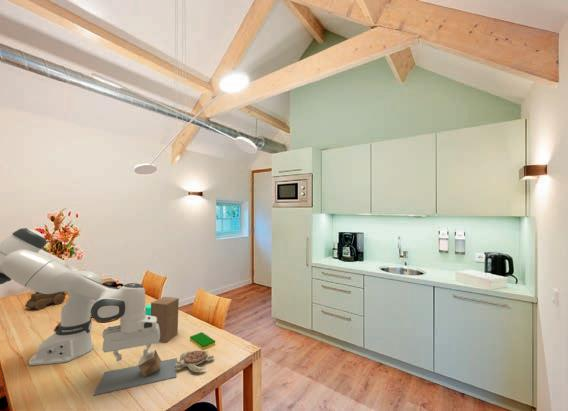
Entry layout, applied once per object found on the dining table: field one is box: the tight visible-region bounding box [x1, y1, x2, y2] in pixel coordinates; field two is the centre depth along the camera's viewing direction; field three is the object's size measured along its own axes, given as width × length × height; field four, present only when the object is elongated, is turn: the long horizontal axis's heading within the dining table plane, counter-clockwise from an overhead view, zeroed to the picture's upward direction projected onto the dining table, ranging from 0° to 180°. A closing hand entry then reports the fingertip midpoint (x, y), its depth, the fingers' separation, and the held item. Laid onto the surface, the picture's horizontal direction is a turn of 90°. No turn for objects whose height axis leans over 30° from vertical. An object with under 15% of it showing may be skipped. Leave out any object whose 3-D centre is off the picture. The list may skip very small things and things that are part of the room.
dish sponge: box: [189, 332, 216, 351], centre depth 128 cm, size 7×14×2 cm, turn 48°
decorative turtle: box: [175, 350, 215, 373], centre depth 109 cm, size 18×17×5 cm
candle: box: [144, 304, 151, 316], centre depth 150 cm, size 6×6×12 cm
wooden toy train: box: [24, 291, 66, 311], centre depth 175 cm, size 20×11×17 cm, turn 161°
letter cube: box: [137, 348, 162, 378], centre depth 103 cm, size 6×6×6 cm
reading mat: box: [93, 357, 178, 397], centre depth 101 cm, size 28×14×1 cm, turn 113°
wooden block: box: [150, 296, 180, 344], centre depth 133 cm, size 10×10×20 cm
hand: (132, 357), depth 100 cm, fingers open, 8 cm apart
